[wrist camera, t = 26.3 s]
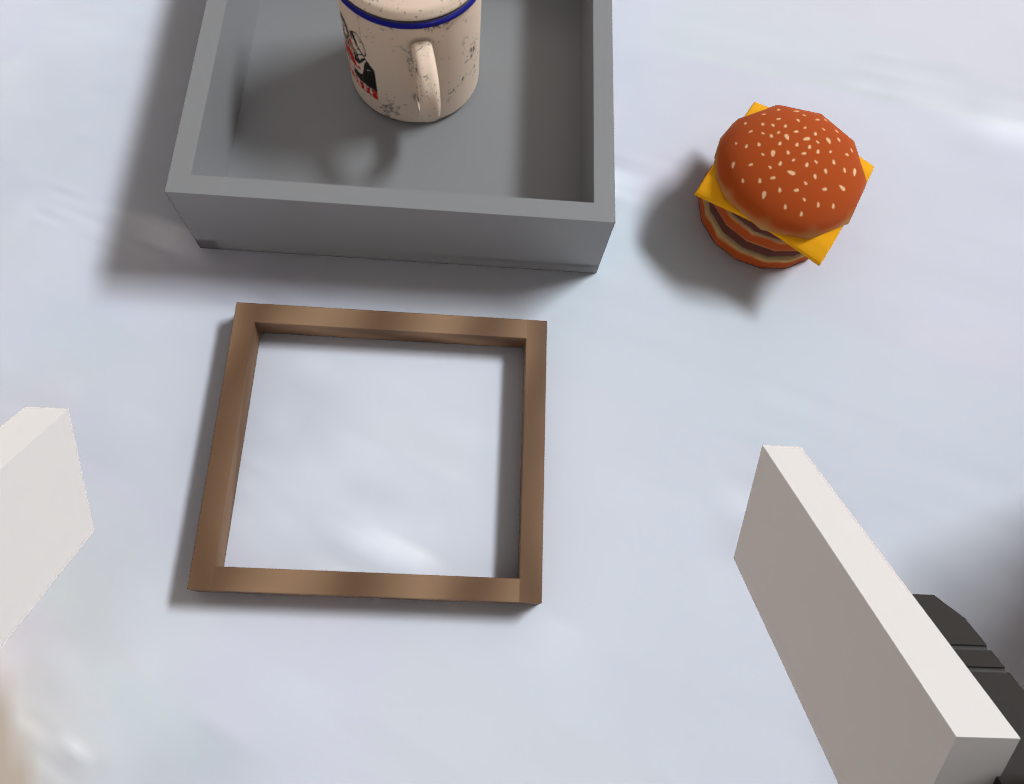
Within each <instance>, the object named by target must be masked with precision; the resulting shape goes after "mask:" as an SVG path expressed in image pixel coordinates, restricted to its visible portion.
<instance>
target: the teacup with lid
mask: <svg viewBox="0 0 1024 784" xmlns="http://www.w3.org/2000/svg"><path fill="white" fill-rule="evenodd" d="M337 1H338V7H339V12H340V17H341V23H342V28H343V33H344V39H345V44H346V50H347V55H348V60H349V66H350V71H351V76H352V80H353V83H354V86H355V88H356V90H357V92H358V93H359V95H360V96H361V98H362V99H363V100H364V101H365V102H366V103H367V104H368V105H369V106H370V107H371V108H373V109H374V110H376V111H377V112H379V113H381V114H382V115H385V116H387V117H389V118H392V119H396V120H400V121H405V122H433V121H436V120H438V119H440V118H443V117H445V116H448V115H450V114H452V113H453V112H455V111H456V110H458V109H459V108H460V107H462V106H463V105H464V104H465V103H466V102H467V100H468V99H469V98H470V97H471V95H472V93H473V92H474V90H475V87H476V85H477V81H478V76H479V52H480V24H481V0H337Z"/></svg>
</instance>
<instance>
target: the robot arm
mask: <svg viewBox="0 0 1024 784" xmlns="http://www.w3.org/2000/svg"><path fill="white" fill-rule="evenodd" d="M93 531H94V527H93V523H92V518H91V513H90V508H89V504H88V499H87V494H86V489H85V485H84V480H83V475H82V470H81V466H80V461H79V456H78V451H77V447H76V442H75V437H74V432H73V427H72V423H71V418H70V413H69V409H63V408H44V407H25V408H23V409H22V410H21V411H20V412H18V413H17V414H16V415H15V416H13V417H12V418H11V419H10V420H8V421H7V422H6V423H5V424H3V425H2V426H1V427H0V648H1V647H2V646H3V644H4V643H5V642H6V641H7V639H8V638H9V637H10V636H11V634H12V633H13V632H14V631H15V629H16V628H17V627H18V626H19V624H20V623H21V622H22V621H23V619H24V618H25V617H26V615H27V614H28V613H29V612H30V610H31V609H32V608H33V607H34V605H35V604H36V603H37V602H38V600H39V599H40V598H41V597H42V595H43V594H44V593H45V592H46V590H47V589H48V588H49V587H50V585H51V584H52V583H53V582H54V580H55V579H56V578H57V577H58V575H59V574H60V573H61V572H62V570H63V569H64V568H65V567H66V565H67V564H68V563H69V562H70V560H71V559H72V558H73V556H74V555H75V554H76V553H77V551H78V550H79V549H80V548H81V546H82V545H83V544H84V543H85V541H86V540H87V539H88V538H89V536H90V535H91V534H92V533H93ZM734 560H735V562H736V564H737V566H738V568H739V571H740V573H741V575H742V577H743V579H744V581H745V584H746V586H747V588H748V590H749V592H750V594H751V596H752V599H753V601H754V603H755V605H756V607H757V609H758V611H759V614H760V616H761V618H762V620H763V622H764V624H765V626H766V629H767V631H768V633H769V635H770V637H771V639H772V642H773V644H774V646H775V648H776V650H777V652H778V654H779V657H780V659H781V661H782V663H783V665H784V667H785V669H786V672H787V674H788V676H789V678H790V680H791V682H792V684H793V687H794V689H795V691H796V693H797V695H798V697H799V700H800V702H801V704H802V706H803V708H804V710H805V712H806V715H807V717H808V719H809V721H810V723H811V725H812V727H813V730H814V732H815V734H816V736H817V738H818V740H819V743H820V745H821V747H822V749H823V751H824V753H825V755H826V758H827V760H828V762H829V764H830V766H831V768H832V770H833V773H834V775H835V777H836V779H837V781H838V783H839V784H1024V690H1023V689H1022V688H1021V687H1020V686H1019V684H1018V683H1017V682H1016V681H1015V679H1014V678H1013V677H1012V676H1011V674H1010V673H1005V670H1004V668H1005V667H1004V666H1003V665H1002V663H1001V662H1000V661H999V660H998V658H997V657H996V656H995V655H994V654H993V652H992V651H990V650H987V648H986V646H987V645H986V644H985V643H984V641H983V640H982V639H981V638H980V636H979V635H978V634H977V633H976V631H975V630H974V629H973V628H972V627H971V625H970V624H969V623H968V622H967V620H966V619H965V618H964V617H962V616H961V615H960V614H958V613H957V612H956V611H954V610H953V609H952V608H950V607H949V606H948V605H946V604H945V603H944V602H942V601H941V600H940V599H938V598H937V597H936V596H934V595H920V594H911V592H910V591H909V590H908V588H907V587H906V586H905V584H904V583H903V582H902V580H901V579H900V578H899V576H898V575H897V574H896V572H895V571H894V570H893V569H892V567H891V566H890V565H889V563H888V562H887V561H886V559H885V558H884V557H883V555H882V554H881V553H880V551H879V550H878V549H877V547H876V546H875V545H874V543H873V542H872V541H871V539H870V538H869V537H868V535H867V534H866V533H865V531H864V530H863V529H862V527H861V526H860V525H859V523H858V522H857V521H856V519H855V518H854V517H853V515H852V514H851V513H850V511H849V510H848V509H847V507H846V506H845V505H844V503H843V502H842V501H841V500H840V498H839V497H838V496H837V494H836V493H835V492H834V490H833V489H832V488H831V486H830V485H829V484H828V482H827V481H826V480H825V478H824V477H823V476H822V474H821V473H820V472H819V470H818V469H817V468H816V466H815V465H814V464H813V462H812V461H811V460H810V458H809V457H808V456H807V454H806V453H805V452H804V450H803V449H802V448H801V447H793V446H773V445H762V449H761V453H760V457H759V461H758V465H757V469H756V473H755V477H754V481H753V484H752V488H751V492H750V496H749V500H748V504H747V508H746V512H745V516H744V520H743V524H742V527H741V531H740V535H739V539H738V543H737V547H736V551H735V555H734Z"/></svg>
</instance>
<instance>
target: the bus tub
mask: <svg viewBox="0 0 1024 784" xmlns="http://www.w3.org/2000/svg"><path fill="white" fill-rule="evenodd" d="M165 193H166V195H167V196H168V198H169V199H170V201H171V202H172V204H173V205H174V207H175V209H176V210H177V212H178V213H179V215H180V216H181V218H182V220H183V221H184V223H185V224H186V226H187V227H188V229H189V230H190V232H191V234H192V235H193V237H194V238H195V240H196V241H197V243H198V245H199V246H200V248H216V249H231V250H247V251H262V252H278V253H293V254H309V255H325V256H340V257H356V258H371V259H387V260H402V261H418V262H433V263H449V264H464V265H480V266H496V267H511V268H527V269H542V270H558V271H573V272H589V273H596V272H597V270H598V267H599V264H600V262H601V259H602V256H603V254H604V251H605V248H606V246H607V243H608V240H609V238H610V235H611V232H612V230H613V227H614V224H615V180H614V114H613V48H612V0H481V24H480V52H479V76H478V81H477V85H476V87H475V90H474V92H473V93H472V95H471V97H470V98H469V99H468V100H467V102H466V103H465V104H464V105H463V106H462V107H460V108H459V109H458V110H456V111H455V112H453V113H452V114H450V115H448V116H445V117H443V118H440V119H438V120H436V121H433V122H405V121H400V120H396V119H392V118H389V117H387V116H385V115H382V114H381V113H379V112H377V111H376V110H374V109H373V108H371V107H370V106H369V105H368V104H367V103H366V102H365V101H364V100H363V99H362V98H361V96H360V95H359V93H358V92H357V90H356V88H355V86H354V83H353V80H352V76H351V71H350V66H349V60H348V55H347V50H346V44H345V39H344V33H343V28H342V23H341V17H340V12H339V7H338V1H337V0H207V1H206V6H205V10H204V15H203V20H202V24H201V29H200V33H199V38H198V42H197V47H196V51H195V56H194V61H193V65H192V70H191V74H190V79H189V83H188V88H187V92H186V97H185V101H184V106H183V111H182V115H181V120H180V124H179V129H178V133H177V138H176V142H175V147H174V152H173V156H172V161H171V165H170V170H169V174H168V179H167V183H166V188H165Z"/></svg>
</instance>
